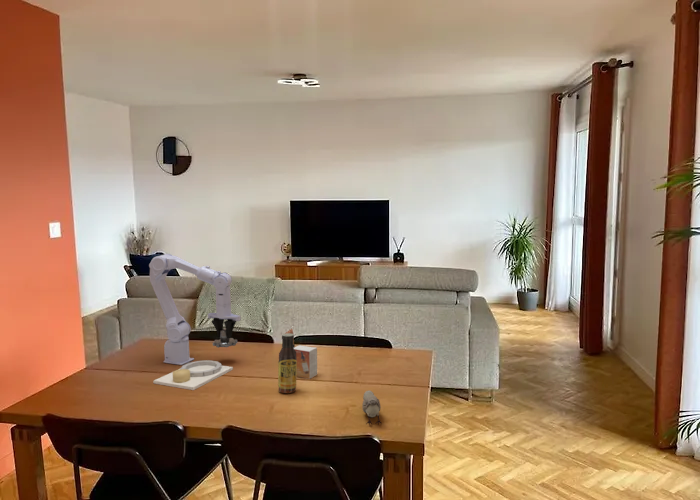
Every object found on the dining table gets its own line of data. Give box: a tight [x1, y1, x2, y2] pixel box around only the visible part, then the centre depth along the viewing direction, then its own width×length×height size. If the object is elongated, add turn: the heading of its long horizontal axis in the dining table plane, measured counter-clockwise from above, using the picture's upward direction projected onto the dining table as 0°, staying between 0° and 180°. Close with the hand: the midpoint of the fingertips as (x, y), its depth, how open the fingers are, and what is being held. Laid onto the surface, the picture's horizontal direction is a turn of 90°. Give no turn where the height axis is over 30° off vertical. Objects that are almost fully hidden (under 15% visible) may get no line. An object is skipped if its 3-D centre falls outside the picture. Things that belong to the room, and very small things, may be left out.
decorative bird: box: [362, 390, 383, 426], centre depth 163 cm, size 5×16×8 cm, turn 5°
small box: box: [294, 344, 318, 380], centre depth 199 cm, size 8×6×10 cm
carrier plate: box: [152, 359, 234, 391], centre depth 200 cm, size 18×23×4 cm
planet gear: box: [212, 327, 238, 349], centre depth 215 cm, size 10×10×6 cm
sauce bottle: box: [277, 332, 298, 394], centre depth 183 cm, size 6×6×20 cm
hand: (224, 337), depth 215 cm, fingers closed on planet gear, 4 cm apart
